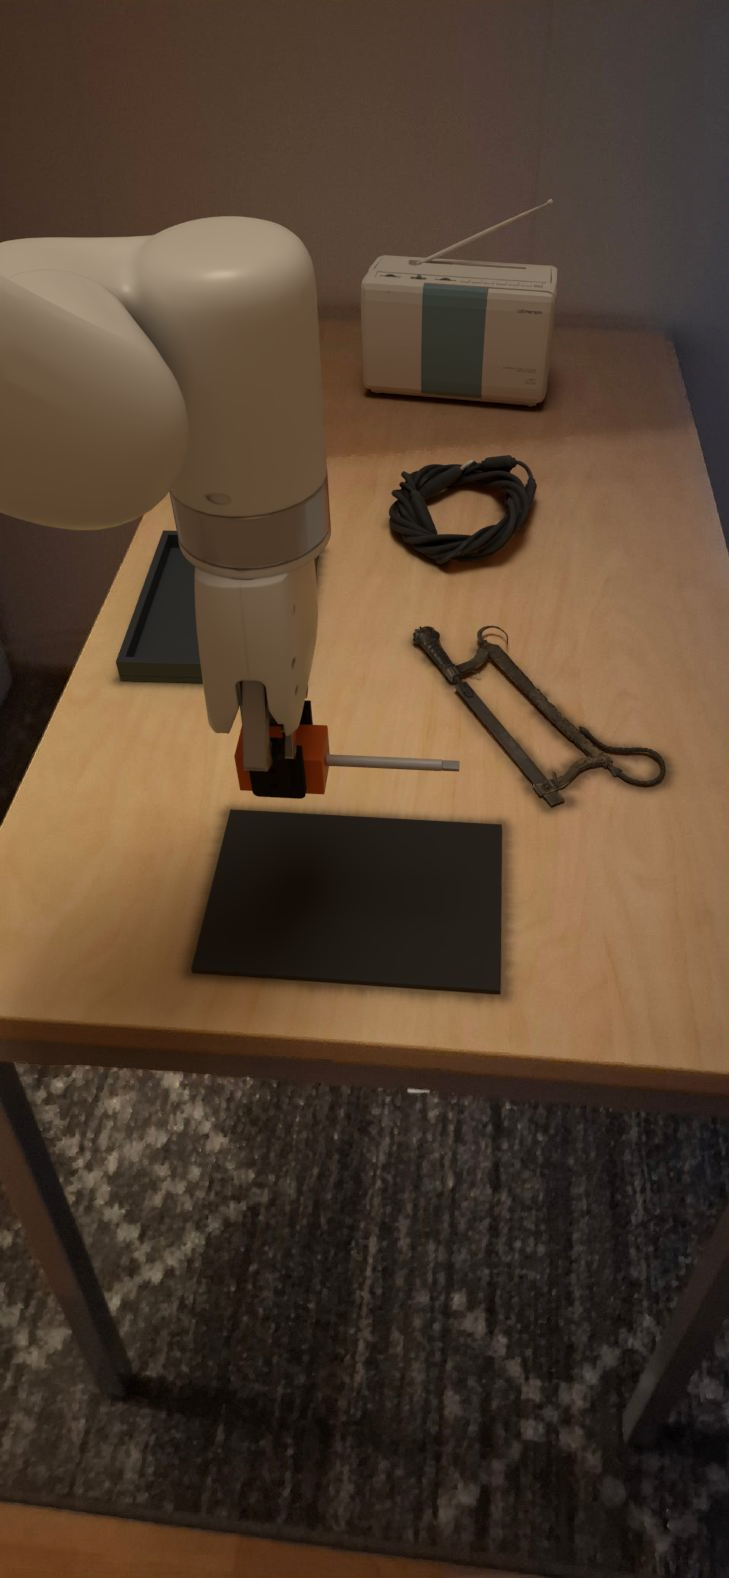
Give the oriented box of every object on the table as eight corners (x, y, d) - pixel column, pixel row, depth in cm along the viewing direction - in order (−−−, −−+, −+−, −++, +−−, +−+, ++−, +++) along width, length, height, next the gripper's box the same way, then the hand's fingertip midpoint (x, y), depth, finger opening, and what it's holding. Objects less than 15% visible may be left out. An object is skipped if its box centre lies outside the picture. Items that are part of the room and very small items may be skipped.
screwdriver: (239, 790, 63) (233, 756, 61) (248, 755, 65) (242, 721, 63) (457, 801, 62) (459, 766, 60) (459, 765, 64) (461, 730, 62)
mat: (191, 972, 68) (190, 969, 68) (230, 812, 77) (230, 808, 77) (500, 993, 66) (500, 990, 66) (501, 827, 76) (501, 824, 75)
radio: (361, 399, 121) (355, 212, 106) (376, 367, 126) (373, 184, 111) (542, 415, 117) (562, 223, 102) (550, 381, 122) (570, 195, 108)
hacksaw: (406, 638, 91) (406, 624, 90) (508, 604, 94) (509, 590, 93) (561, 824, 76) (563, 810, 75) (676, 776, 79) (680, 762, 78)
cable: (512, 584, 96) (516, 543, 93) (365, 562, 99) (364, 522, 95) (543, 486, 107) (547, 447, 104) (410, 470, 110) (410, 431, 107)
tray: (295, 686, 87) (293, 666, 85) (120, 680, 88) (115, 661, 86) (319, 551, 100) (317, 533, 98) (166, 548, 101) (162, 530, 99)
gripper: (208, 423, 56) (247, 680, 70) (135, 610, 45) (197, 873, 59) (347, 426, 56) (358, 685, 69) (306, 616, 44) (329, 880, 58)
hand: (284, 769), depth 64 cm, fingers closed on screwdriver, 3 cm apart
